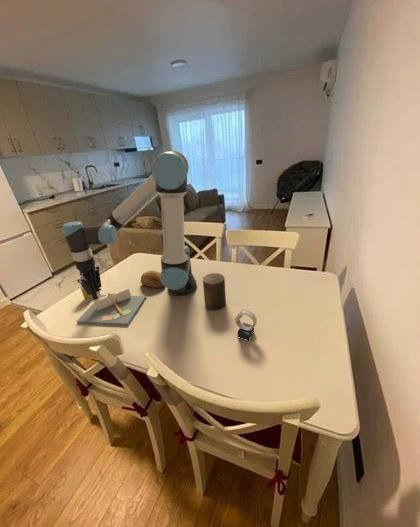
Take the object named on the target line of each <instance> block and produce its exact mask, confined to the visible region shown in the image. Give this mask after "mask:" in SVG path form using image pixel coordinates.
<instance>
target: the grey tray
mask: <svg viewBox="0 0 420 527" xmlns="http://www.w3.org/2000/svg"><path fill="white" fill-rule="evenodd" d="M106 295H107V294H101V297H104V296H106ZM146 299H147V295H131V297H130V298H128V299H125V300H123V301H120V302H118V303H117V306H118V307H119V308H120V310H121V311H122V313H123V314H120V312H119V311H118V309H117V308H116V306H115V305H111V306H108V307H106V308H103V309H101V310H98V311H97V309H96V307H95V304H94V302H93V304H91V305H90V307H89V308H87V310H86V311H85V312H83V314H82V315H81V316H80V317H79V318H78V319H77V320H76V323H77V324H84V325H105V326H106V325H107V326H126V327H128V326H130V324H131V322H132V321H133V319H134V317H135V316H136V315H137V313H138V312H139V310H140V309H141V307H142V306H143V304H144V302H145V301H146Z"/></svg>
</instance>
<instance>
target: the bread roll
mask: <svg viewBox="0 0 420 527" xmlns="http://www.w3.org/2000/svg"><path fill="white" fill-rule="evenodd" d="M160 274H161V272H158V271H156V270H148V271H146V272H143V273H142V274H141V276H140V283H141V284H142V285H143V286H146V287H150V288H156V289H157V288H158V289H159V288H163V287H165V286H164V285H163V284H162V283H161V281H160Z"/></svg>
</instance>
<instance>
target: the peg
mask: <svg viewBox="0 0 420 527" xmlns="http://www.w3.org/2000/svg"><path fill="white" fill-rule="evenodd" d="M105 295H106V296H104V297H101V298H99V299H96V300H94V299H92V300H93V303H94V304H95V307H96V309H97V311H98V310H101V309H103V308H106V307H108V306H111V305H115V306H116V308H117V309H118V311H119V312H120V314H123V313H122V311H121V310H120V308H119V307H118V306H117V303H118V302H120V301H123V300H125V299H128V298H130V297H131V296H132V295H131V291H130V288H129V287H125V288H121V289H119V290H117V291H114V290H112V291H108V293H107V294H105Z"/></svg>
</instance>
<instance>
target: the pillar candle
mask: <svg viewBox="0 0 420 527" xmlns="http://www.w3.org/2000/svg"><path fill="white" fill-rule="evenodd" d="M225 279H226V278H225V276H224V275H223V274H221V273H217V272H216V273H215V272H214V273H213V272H211V273H209V274H206V275H204V276H203V277H202V284H203V296H204V305H205V307H206V308H207V309H208V310H211V311H218V310H222V309H224V308H225V307H226V304H227V300H226V298H227V297H226V281H225Z"/></svg>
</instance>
